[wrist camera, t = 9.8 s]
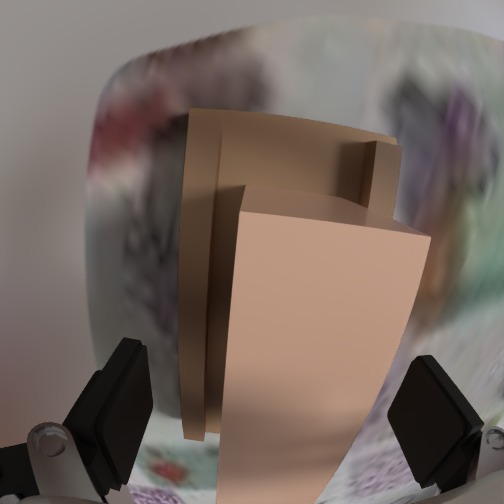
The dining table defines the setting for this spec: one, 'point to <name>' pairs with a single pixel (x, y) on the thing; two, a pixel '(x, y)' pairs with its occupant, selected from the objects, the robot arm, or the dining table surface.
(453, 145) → the dining table surface
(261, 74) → the dining table surface
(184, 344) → the rack
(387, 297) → the block
